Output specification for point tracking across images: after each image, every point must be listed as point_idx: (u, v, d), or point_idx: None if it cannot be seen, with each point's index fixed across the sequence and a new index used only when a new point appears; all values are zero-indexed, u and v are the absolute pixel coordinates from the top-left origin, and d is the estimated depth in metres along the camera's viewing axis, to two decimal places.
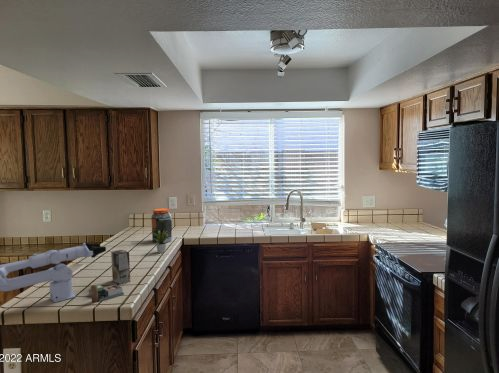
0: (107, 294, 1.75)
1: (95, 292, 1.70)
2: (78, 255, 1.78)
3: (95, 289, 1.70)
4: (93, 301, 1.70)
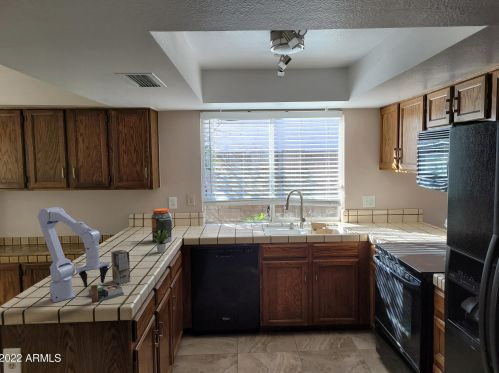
0: (107, 294, 1.75)
1: (95, 292, 1.70)
2: (86, 258, 1.68)
3: (95, 289, 1.70)
4: (93, 301, 1.70)
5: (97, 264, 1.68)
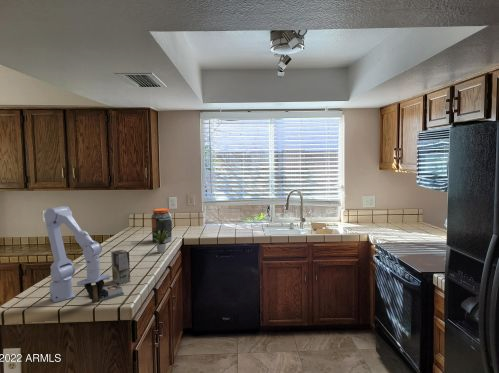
0: (107, 294, 1.75)
1: (95, 292, 1.70)
2: None
3: (95, 289, 1.70)
4: (93, 301, 1.70)
5: (98, 277, 1.69)
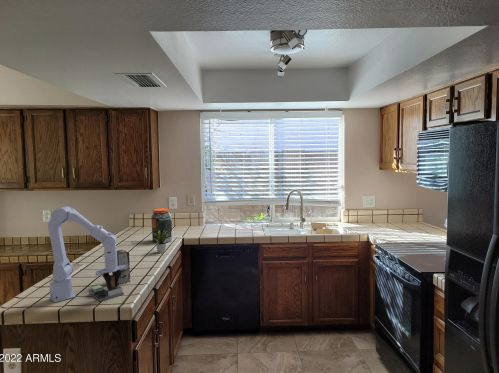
0: (107, 294, 1.75)
1: (113, 282, 1.78)
2: None
3: (113, 279, 1.78)
4: None
5: (115, 267, 1.77)
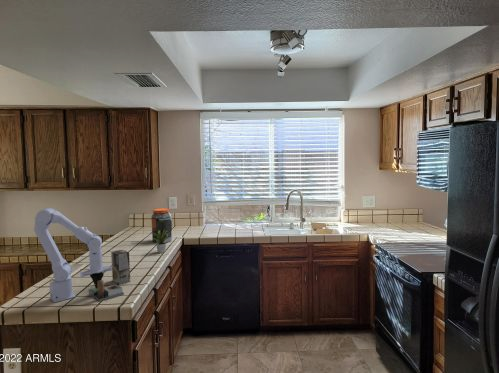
0: (107, 294, 1.75)
1: (101, 287, 1.73)
2: None
3: (101, 284, 1.73)
4: (99, 296, 1.73)
5: (100, 268, 1.78)
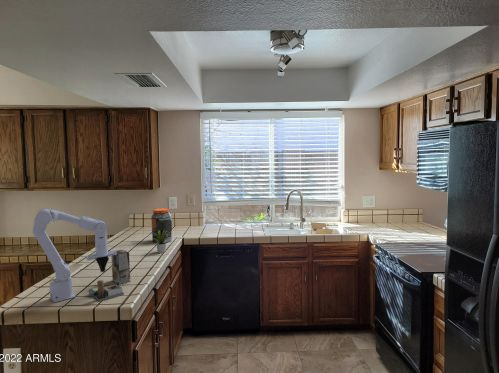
0: (107, 294, 1.75)
1: (101, 287, 1.73)
2: (95, 247, 1.82)
3: (101, 284, 1.73)
4: (99, 296, 1.73)
5: (105, 252, 1.82)
